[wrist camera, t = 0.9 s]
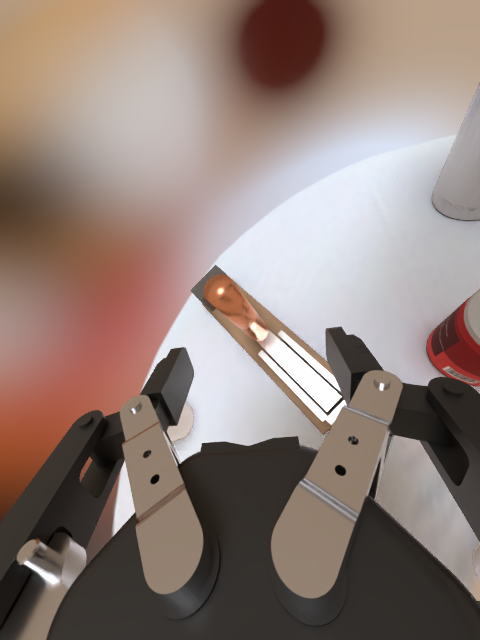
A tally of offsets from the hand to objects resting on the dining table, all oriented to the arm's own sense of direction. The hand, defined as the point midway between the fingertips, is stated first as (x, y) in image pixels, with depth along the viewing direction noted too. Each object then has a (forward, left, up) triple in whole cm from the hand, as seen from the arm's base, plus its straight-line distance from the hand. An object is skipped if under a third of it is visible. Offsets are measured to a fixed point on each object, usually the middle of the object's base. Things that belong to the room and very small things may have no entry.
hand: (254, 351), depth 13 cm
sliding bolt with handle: (-1, -5, -20) cm, 21 cm away
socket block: (-1, -21, -22) cm, 30 cm away
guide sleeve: (-1, -1, -21) cm, 21 cm away
